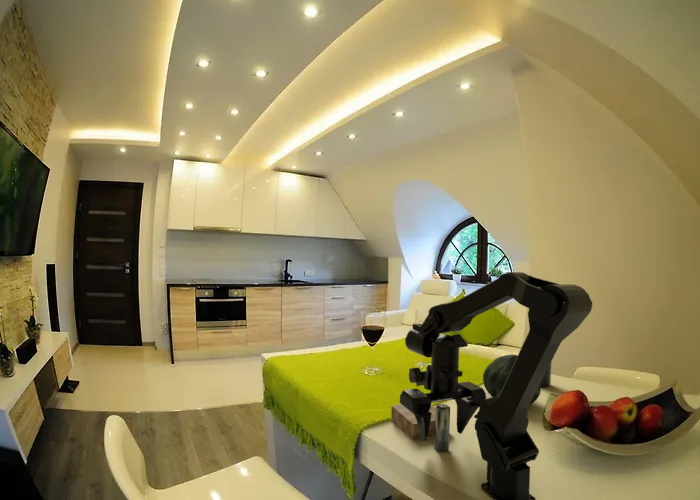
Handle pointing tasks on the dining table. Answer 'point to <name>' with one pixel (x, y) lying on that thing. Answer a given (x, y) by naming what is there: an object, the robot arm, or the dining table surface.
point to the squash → (501, 375)
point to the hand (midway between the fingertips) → (442, 436)
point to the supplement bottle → (546, 377)
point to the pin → (442, 428)
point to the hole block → (411, 421)
